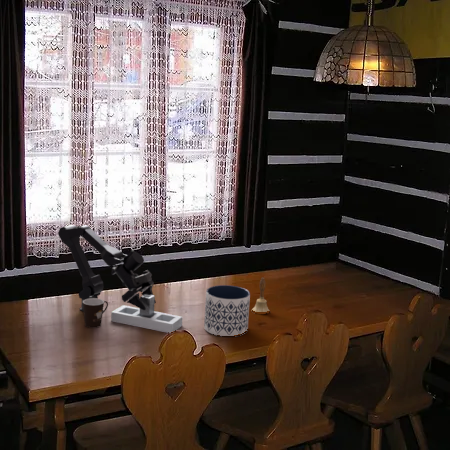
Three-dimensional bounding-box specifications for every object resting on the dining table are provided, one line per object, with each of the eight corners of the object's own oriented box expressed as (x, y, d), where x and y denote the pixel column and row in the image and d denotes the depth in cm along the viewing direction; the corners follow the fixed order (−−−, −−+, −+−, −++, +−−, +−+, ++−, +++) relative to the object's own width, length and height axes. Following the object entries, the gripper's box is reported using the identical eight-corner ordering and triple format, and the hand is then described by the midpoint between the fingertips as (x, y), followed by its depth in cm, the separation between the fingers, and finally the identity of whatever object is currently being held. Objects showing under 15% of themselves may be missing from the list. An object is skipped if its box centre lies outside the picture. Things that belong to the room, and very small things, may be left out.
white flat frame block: (111, 321, 290) (111, 312, 289) (122, 313, 299) (123, 305, 298) (171, 333, 281) (172, 324, 280) (182, 325, 290) (182, 316, 289)
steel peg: (139, 324, 289) (140, 296, 286) (144, 320, 293) (145, 293, 290) (148, 326, 287) (149, 298, 284) (153, 322, 291) (154, 295, 289)
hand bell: (268, 315, 308) (271, 281, 304) (250, 313, 310) (252, 279, 306) (271, 309, 316) (273, 276, 312) (253, 307, 318) (255, 274, 314)
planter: (232, 341, 277) (235, 302, 273) (195, 330, 286) (197, 292, 282) (255, 328, 292) (258, 291, 288) (219, 318, 301) (221, 282, 297)
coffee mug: (85, 329, 279) (86, 306, 277) (79, 322, 286) (80, 299, 284) (113, 326, 284) (114, 303, 282) (106, 319, 292) (107, 296, 290)
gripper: (129, 271, 277) (152, 302, 276) (150, 260, 294) (172, 289, 293) (111, 286, 282) (134, 317, 280) (133, 275, 299) (155, 304, 297)
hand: (150, 306), depth 288 cm, fingers open, 9 cm apart
